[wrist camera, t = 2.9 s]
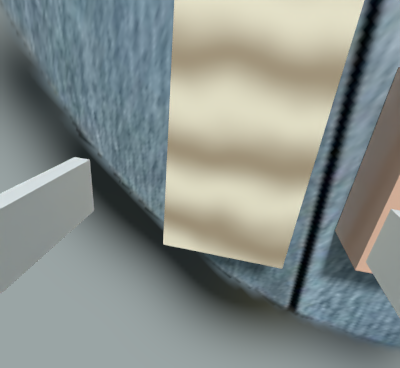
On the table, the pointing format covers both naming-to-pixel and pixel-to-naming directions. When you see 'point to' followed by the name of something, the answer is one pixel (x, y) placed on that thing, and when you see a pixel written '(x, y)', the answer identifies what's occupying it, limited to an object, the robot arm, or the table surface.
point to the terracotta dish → (374, 185)
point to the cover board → (249, 119)
